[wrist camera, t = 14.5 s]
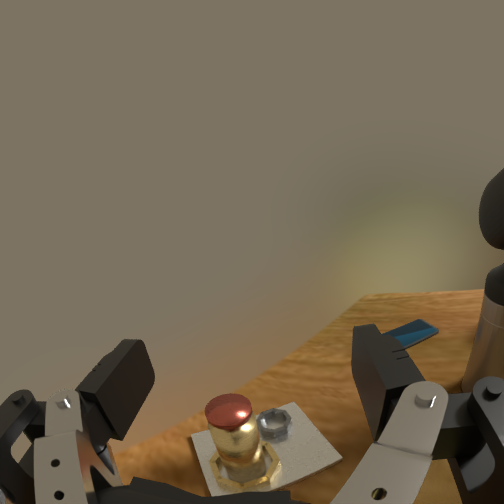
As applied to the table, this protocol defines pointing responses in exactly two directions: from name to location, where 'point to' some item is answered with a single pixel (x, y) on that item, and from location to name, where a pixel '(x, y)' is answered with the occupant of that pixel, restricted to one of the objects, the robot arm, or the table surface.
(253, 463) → the brass valve
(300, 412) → the fitting plate
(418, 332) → the smartphone
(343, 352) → the table surface
